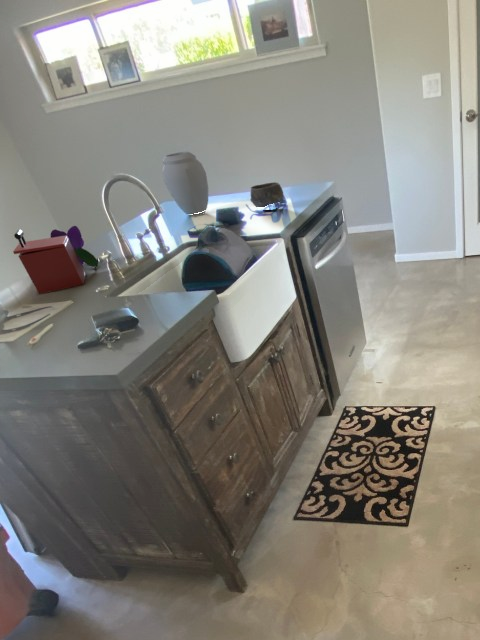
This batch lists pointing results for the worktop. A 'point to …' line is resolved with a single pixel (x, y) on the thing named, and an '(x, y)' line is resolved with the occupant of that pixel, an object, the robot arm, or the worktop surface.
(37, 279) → the red hollow box
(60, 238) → the lid
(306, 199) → the worktop surface
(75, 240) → the flower
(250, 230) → the worktop surface
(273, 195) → the bowl
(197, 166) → the vase
